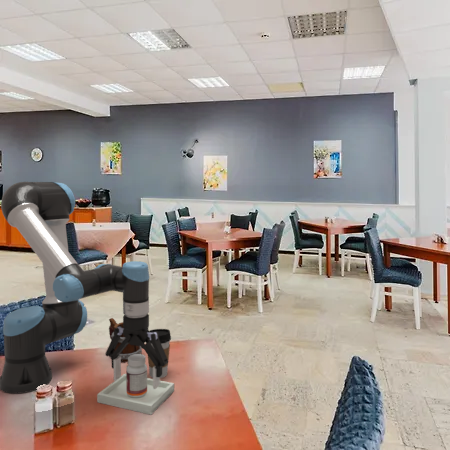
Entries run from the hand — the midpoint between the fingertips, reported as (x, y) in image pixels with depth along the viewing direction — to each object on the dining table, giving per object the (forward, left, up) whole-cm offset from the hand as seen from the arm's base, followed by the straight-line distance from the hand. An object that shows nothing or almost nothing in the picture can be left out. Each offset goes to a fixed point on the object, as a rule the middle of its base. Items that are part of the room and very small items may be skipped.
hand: (136, 382), depth 121 cm
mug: (-21, +24, -5) cm, 32 cm away
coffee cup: (-1, +15, -5) cm, 16 cm away
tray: (0, 0, -4) cm, 4 cm away
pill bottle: (0, 0, -4) cm, 4 cm away
